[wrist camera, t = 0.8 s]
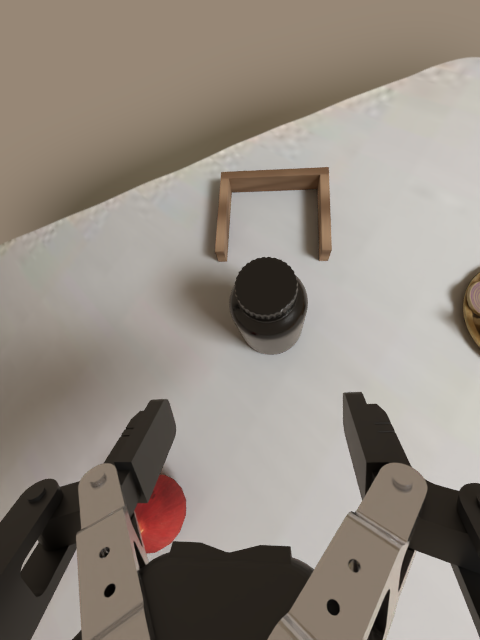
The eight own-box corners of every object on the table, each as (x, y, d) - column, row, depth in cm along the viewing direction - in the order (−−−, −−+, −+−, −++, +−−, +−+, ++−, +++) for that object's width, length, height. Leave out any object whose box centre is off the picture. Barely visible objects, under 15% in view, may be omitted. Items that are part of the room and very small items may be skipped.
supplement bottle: (277, 286, 35) (277, 227, 23) (314, 332, 33) (334, 293, 21) (228, 319, 34) (205, 276, 23) (262, 368, 32) (255, 348, 21)
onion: (128, 501, 30) (78, 533, 23) (166, 454, 31) (130, 470, 23) (168, 546, 29) (129, 597, 21) (207, 496, 30) (182, 527, 22)
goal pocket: (327, 260, 35) (331, 250, 33) (218, 261, 37) (214, 251, 34) (325, 182, 38) (328, 167, 36) (224, 186, 40) (221, 172, 37)
